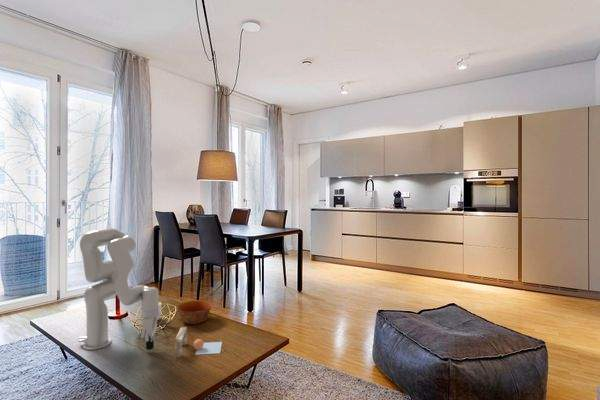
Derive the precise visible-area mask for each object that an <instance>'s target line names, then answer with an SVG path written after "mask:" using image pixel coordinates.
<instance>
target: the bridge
mask: <svg viewBox="0 0 600 400" xmlns="http://www.w3.org/2000/svg"><path fill="white" fill-rule="evenodd" d="M187 329H188V328H187V326H185V327H184V326H183V327H181V326H180V328H179V331H178V332H177V334H176V337H175V339H174V357H175V358H181V357H182V355H183V346H186V345H187V342H188V339H187V338H188V337H187V335H188V331H187Z"/></svg>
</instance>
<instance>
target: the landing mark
mask: <svg viewBox="0 0 600 400" xmlns="http://www.w3.org/2000/svg"><path fill="white" fill-rule="evenodd" d="M203 343H204V344H203V347H202V348H201V349H199V350H197V349H196V351H195V353H194V354H195V356H199V355H213V354H214V355H215V354H221V351H222V345H223V341H215V342H214V341H211V342H203Z"/></svg>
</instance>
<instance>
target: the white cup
mask: <svg viewBox="0 0 600 400" xmlns="http://www.w3.org/2000/svg"><path fill="white" fill-rule="evenodd" d="M161 313H162V302H160V301H158V316H157V319H158V318H160V319H161Z"/></svg>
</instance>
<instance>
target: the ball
mask: <svg viewBox="0 0 600 400" xmlns="http://www.w3.org/2000/svg"><path fill="white" fill-rule="evenodd" d="M204 343H205V342H204V341H203V339H201V338H198V339H195V340H194V342H193V348H194V349H195V350H196V351H197V350H199V349H201V348H202V347H203V344H204Z"/></svg>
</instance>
